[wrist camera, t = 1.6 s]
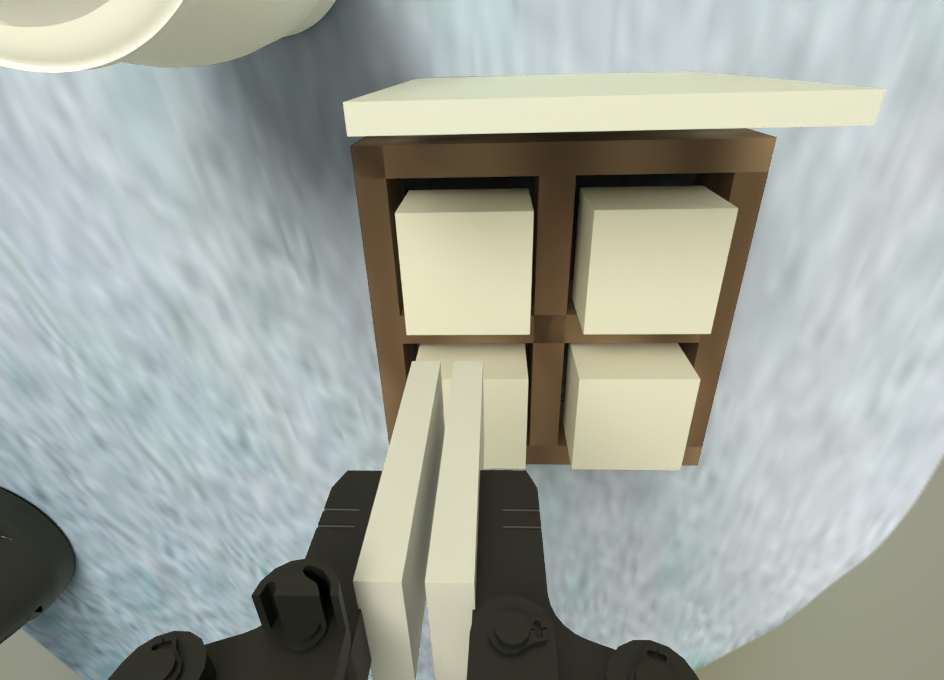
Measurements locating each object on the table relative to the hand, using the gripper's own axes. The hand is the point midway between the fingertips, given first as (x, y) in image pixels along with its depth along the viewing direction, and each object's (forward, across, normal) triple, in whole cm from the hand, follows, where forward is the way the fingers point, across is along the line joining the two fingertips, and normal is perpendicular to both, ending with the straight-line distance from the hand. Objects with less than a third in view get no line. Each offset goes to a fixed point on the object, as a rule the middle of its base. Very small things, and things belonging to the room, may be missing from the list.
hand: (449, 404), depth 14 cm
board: (+16, +4, -4) cm, 17 cm away
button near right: (+13, +8, 0) cm, 15 cm away
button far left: (+13, 0, -8) cm, 15 cm away
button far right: (+13, +8, -8) cm, 17 cm away
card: (+16, +4, +7) cm, 18 cm away
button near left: (+13, 0, 0) cm, 13 cm away
